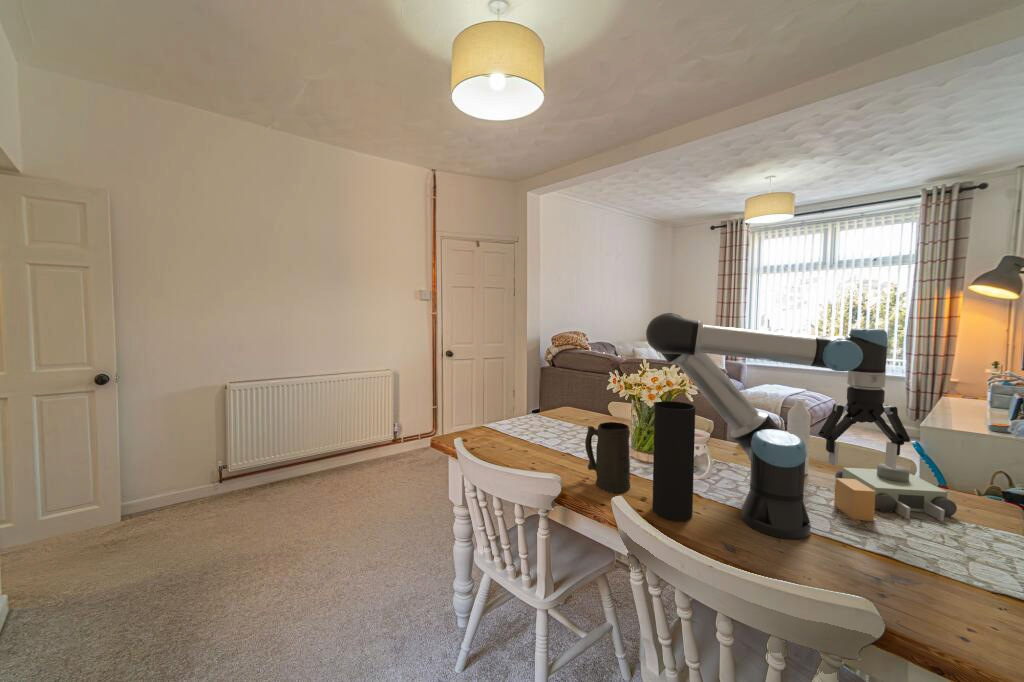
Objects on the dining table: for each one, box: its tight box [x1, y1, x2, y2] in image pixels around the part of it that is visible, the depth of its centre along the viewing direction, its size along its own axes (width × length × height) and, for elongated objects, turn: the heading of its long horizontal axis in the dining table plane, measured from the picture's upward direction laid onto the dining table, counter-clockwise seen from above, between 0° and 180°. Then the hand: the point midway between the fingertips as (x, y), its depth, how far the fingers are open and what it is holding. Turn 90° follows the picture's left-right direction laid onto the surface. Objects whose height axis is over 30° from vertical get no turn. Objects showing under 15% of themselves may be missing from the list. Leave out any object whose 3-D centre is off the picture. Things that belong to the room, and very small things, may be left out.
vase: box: [651, 400, 696, 523], centre depth 112 cm, size 10×10×30 cm
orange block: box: [833, 478, 875, 522], centre depth 112 cm, size 5×8×8 cm, turn 170°
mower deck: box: [834, 462, 958, 522], centre depth 119 cm, size 19×22×9 cm
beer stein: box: [584, 421, 631, 494], centre depth 131 cm, size 15×11×20 cm
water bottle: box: [786, 396, 812, 476], centre depth 141 cm, size 9×6×25 cm
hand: (861, 465), depth 109 cm, fingers open, 13 cm apart
